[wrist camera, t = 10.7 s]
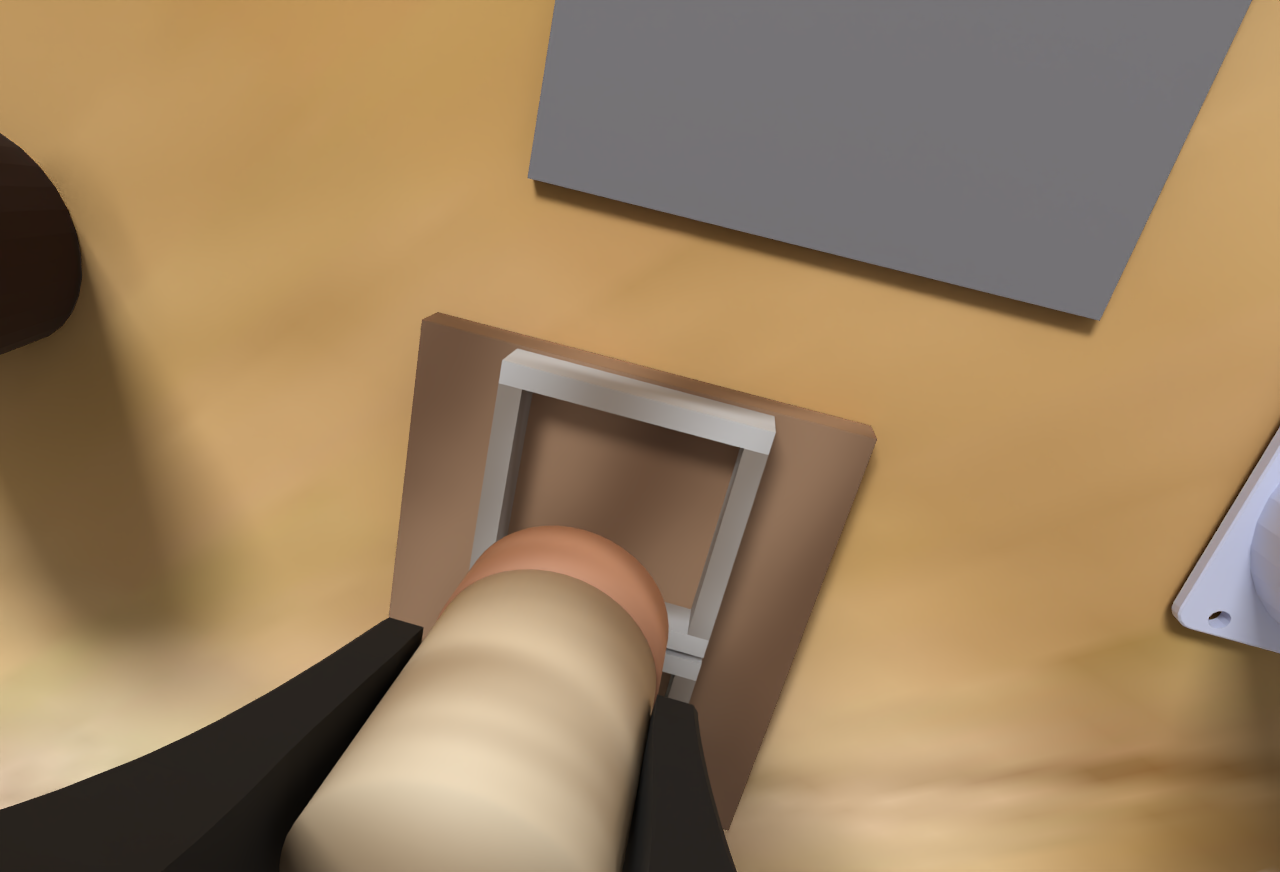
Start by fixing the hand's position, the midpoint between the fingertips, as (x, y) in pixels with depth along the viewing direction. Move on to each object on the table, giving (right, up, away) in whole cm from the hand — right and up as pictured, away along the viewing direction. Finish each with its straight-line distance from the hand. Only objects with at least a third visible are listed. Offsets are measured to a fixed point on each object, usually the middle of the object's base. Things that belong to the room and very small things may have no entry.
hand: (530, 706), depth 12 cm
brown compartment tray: (+1, 0, +10) cm, 10 cm away
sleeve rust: (0, +1, +2) cm, 2 cm away
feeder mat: (+7, +14, +4) cm, 16 cm away
